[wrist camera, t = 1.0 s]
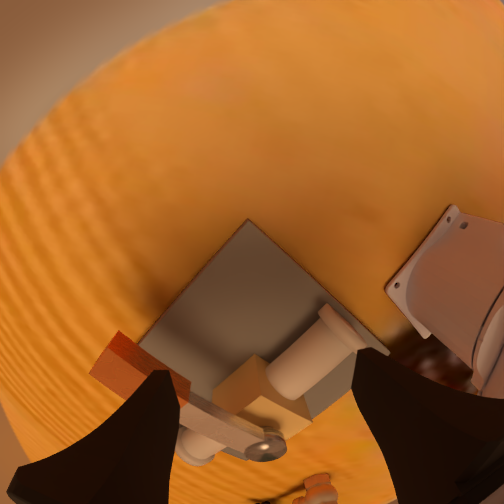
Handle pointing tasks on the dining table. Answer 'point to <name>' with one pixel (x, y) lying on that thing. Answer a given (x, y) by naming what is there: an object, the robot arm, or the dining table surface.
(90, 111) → the dining table surface
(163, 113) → the dining table surface
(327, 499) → the valve
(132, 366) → the valve lever
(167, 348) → the pipe board
